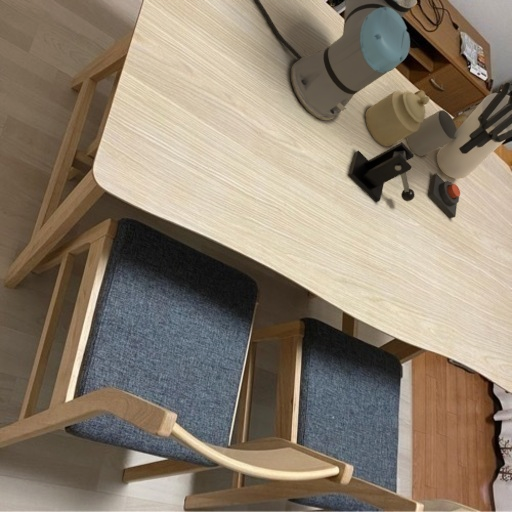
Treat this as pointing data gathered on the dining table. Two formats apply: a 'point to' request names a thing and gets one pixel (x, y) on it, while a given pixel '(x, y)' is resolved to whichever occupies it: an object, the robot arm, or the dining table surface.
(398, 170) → the bracket
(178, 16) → the dining table surface
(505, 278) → the dining table surface
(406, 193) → the lever
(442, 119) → the cup
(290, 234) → the dining table surface
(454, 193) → the button
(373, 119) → the sugar bowl
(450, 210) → the button block
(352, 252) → the dining table surface
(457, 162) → the tall pillar cylinder
